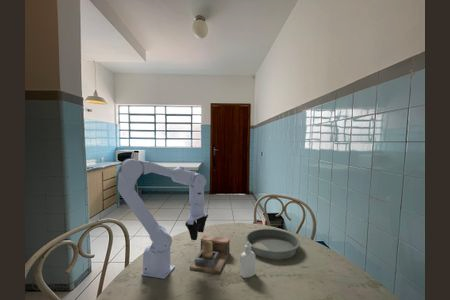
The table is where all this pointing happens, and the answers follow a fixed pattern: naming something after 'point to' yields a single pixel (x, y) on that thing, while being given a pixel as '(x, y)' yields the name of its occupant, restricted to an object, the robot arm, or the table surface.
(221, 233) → the table surface
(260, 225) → the table surface
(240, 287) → the table surface
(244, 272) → the eye dropper bottle
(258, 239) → the cake pan
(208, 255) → the peg
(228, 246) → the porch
